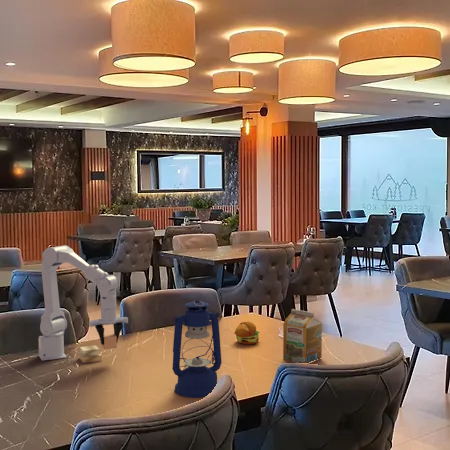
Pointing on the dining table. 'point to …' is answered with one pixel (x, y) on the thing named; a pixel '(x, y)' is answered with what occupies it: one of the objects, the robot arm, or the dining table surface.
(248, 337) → the cheeseburger
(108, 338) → the cube
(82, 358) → the bottom block
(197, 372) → the lantern
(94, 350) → the top block
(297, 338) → the milk carton
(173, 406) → the dining table surface
